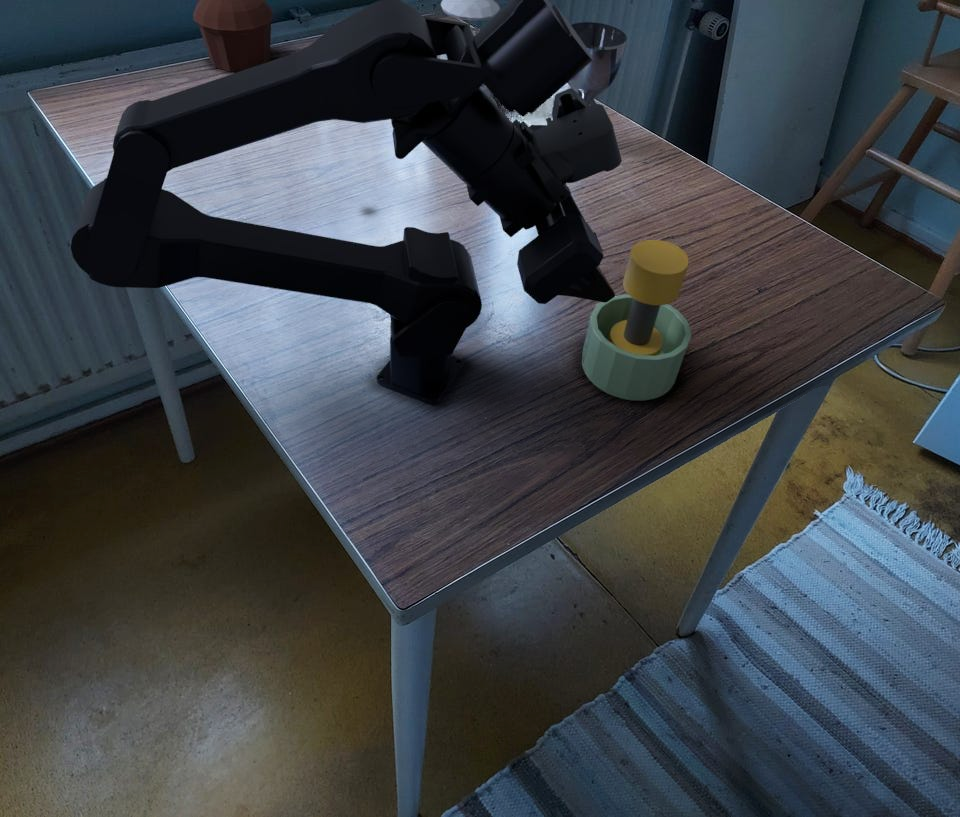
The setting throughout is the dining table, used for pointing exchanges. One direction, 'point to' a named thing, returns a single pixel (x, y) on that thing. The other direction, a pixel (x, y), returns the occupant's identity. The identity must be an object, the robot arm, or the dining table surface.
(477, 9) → the french press
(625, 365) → the pot
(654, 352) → the dumbbell
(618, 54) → the wine glass
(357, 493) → the dining table surface
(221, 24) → the muffin
